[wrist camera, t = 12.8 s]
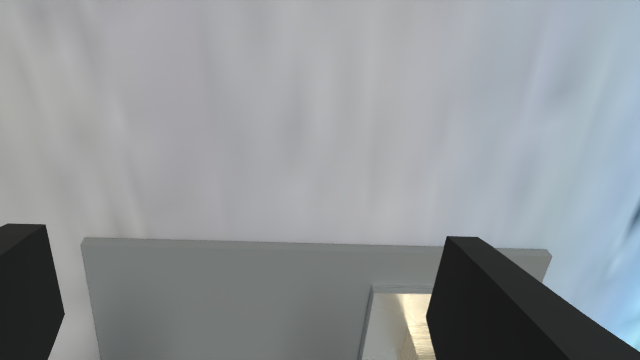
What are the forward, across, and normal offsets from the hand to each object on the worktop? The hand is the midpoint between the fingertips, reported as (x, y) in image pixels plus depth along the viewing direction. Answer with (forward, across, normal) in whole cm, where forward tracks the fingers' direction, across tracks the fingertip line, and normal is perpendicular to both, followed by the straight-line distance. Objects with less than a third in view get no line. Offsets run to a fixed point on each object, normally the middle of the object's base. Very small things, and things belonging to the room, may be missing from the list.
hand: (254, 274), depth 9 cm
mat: (+9, -3, +16) cm, 19 cm away
